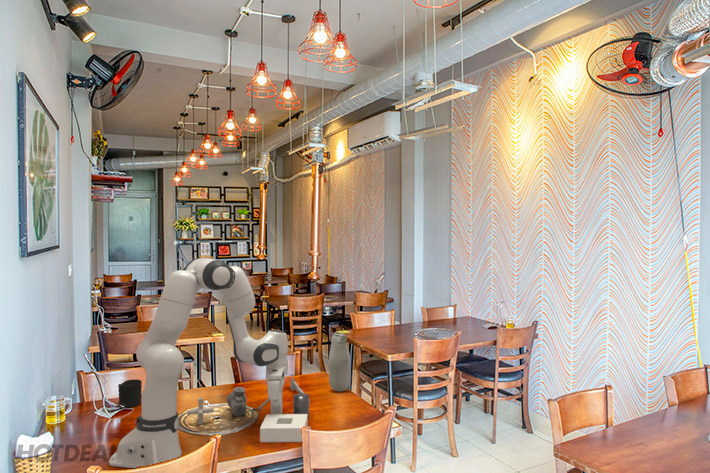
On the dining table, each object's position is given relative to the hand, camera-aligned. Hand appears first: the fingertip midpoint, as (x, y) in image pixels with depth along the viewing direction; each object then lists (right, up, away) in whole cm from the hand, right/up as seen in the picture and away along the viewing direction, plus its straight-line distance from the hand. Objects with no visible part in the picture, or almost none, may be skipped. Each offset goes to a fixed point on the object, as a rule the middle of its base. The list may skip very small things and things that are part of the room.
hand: (276, 403), depth 197 cm
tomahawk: (-7, -7, +20) cm, 22 cm away
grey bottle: (+25, -7, +37) cm, 45 cm away
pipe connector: (-30, -7, -4) cm, 31 cm away
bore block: (+6, -6, -15) cm, 17 cm away
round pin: (+10, -7, +2) cm, 12 cm away
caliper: (+6, -7, +30) cm, 32 cm away
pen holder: (-68, -7, +18) cm, 70 cm away
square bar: (0, -5, 0) cm, 5 cm away
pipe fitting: (-18, -7, +8) cm, 21 cm away
